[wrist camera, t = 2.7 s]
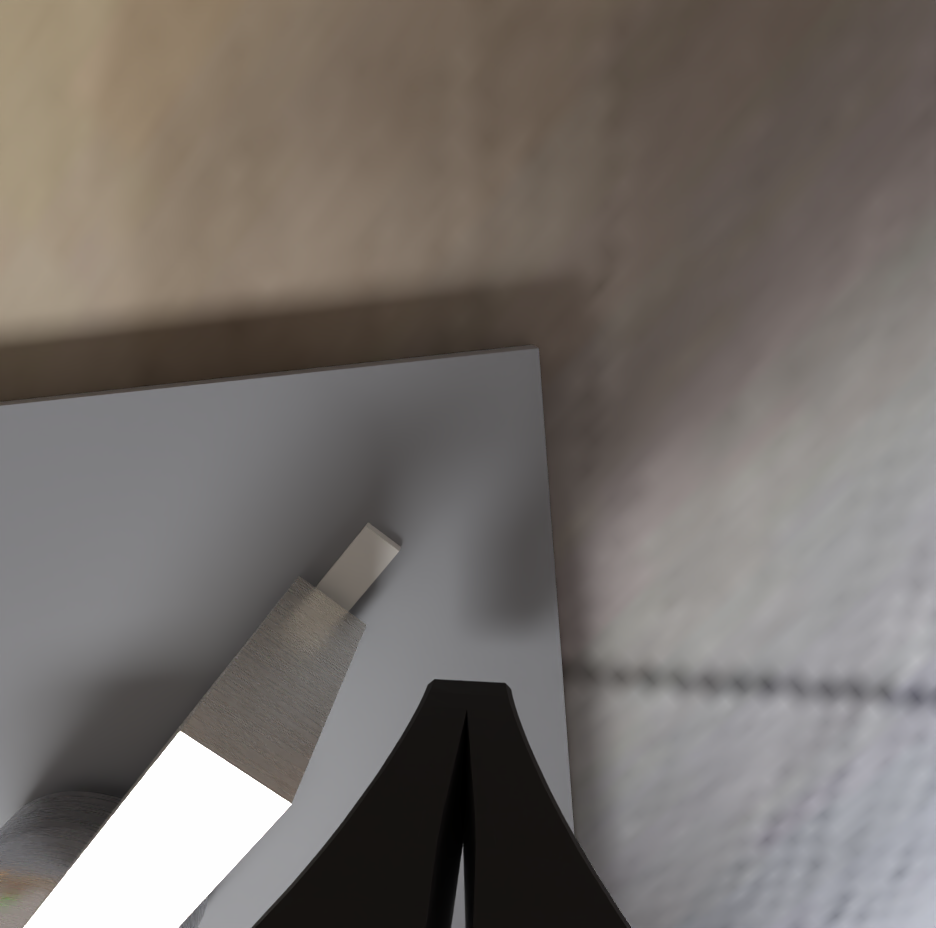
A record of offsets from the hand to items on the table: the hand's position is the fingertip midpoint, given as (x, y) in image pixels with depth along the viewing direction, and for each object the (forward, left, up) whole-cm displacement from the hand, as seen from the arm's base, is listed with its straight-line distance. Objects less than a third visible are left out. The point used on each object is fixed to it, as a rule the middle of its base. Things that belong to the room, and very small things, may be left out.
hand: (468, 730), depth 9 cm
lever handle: (-2, +7, -1) cm, 7 cm away
